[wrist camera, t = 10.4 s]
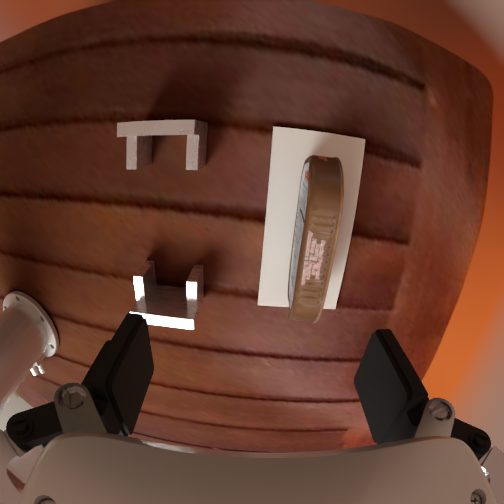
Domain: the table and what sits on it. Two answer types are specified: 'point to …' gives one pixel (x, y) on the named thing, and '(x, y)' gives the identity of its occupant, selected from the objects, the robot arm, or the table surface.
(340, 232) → the mat
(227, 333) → the table surface
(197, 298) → the end brackets
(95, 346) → the table surface
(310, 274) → the tin
